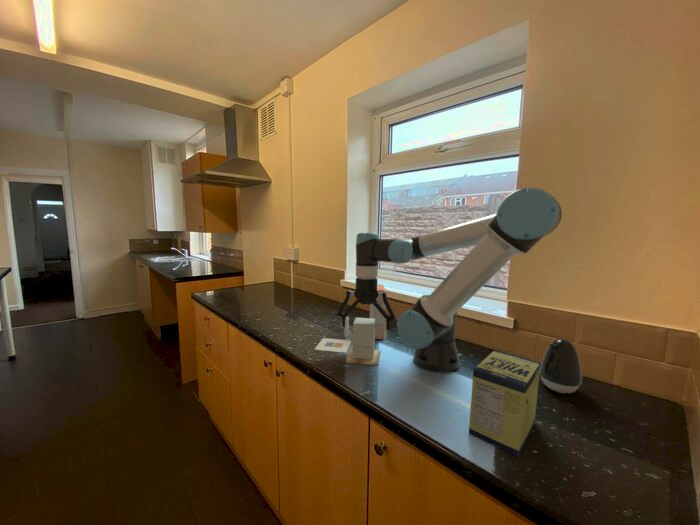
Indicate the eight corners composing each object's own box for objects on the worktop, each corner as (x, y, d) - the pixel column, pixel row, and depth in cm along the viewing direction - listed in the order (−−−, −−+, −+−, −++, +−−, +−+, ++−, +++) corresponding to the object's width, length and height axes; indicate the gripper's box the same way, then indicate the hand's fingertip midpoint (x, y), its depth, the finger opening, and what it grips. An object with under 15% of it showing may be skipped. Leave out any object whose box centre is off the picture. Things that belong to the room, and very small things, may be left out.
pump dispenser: (529, 383, 91) (534, 335, 90) (553, 378, 95) (558, 331, 93) (563, 401, 82) (569, 348, 80) (588, 394, 86) (594, 343, 84)
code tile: (351, 341, 122) (351, 340, 122) (345, 352, 110) (345, 352, 110) (323, 338, 124) (323, 338, 124) (314, 349, 112) (314, 349, 112)
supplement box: (374, 351, 110) (375, 318, 108) (373, 360, 103) (374, 324, 101) (354, 350, 111) (355, 316, 110) (351, 358, 104) (352, 323, 102)
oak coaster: (380, 352, 111) (380, 350, 111) (377, 365, 101) (378, 363, 100) (351, 349, 113) (351, 347, 113) (345, 362, 103) (345, 359, 102)
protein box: (535, 423, 72) (541, 361, 71) (519, 458, 61) (526, 386, 59) (489, 405, 79) (494, 348, 77) (467, 434, 68) (472, 368, 66)
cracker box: (384, 340, 124) (386, 290, 122) (370, 339, 124) (371, 290, 122) (382, 328, 138) (383, 284, 136) (368, 328, 138) (370, 283, 136)
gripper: (403, 277, 105) (401, 335, 107) (334, 274, 110) (333, 331, 112) (403, 280, 98) (401, 343, 100) (328, 277, 102) (328, 338, 104)
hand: (365, 337), depth 106 cm, fingers open, 13 cm apart
